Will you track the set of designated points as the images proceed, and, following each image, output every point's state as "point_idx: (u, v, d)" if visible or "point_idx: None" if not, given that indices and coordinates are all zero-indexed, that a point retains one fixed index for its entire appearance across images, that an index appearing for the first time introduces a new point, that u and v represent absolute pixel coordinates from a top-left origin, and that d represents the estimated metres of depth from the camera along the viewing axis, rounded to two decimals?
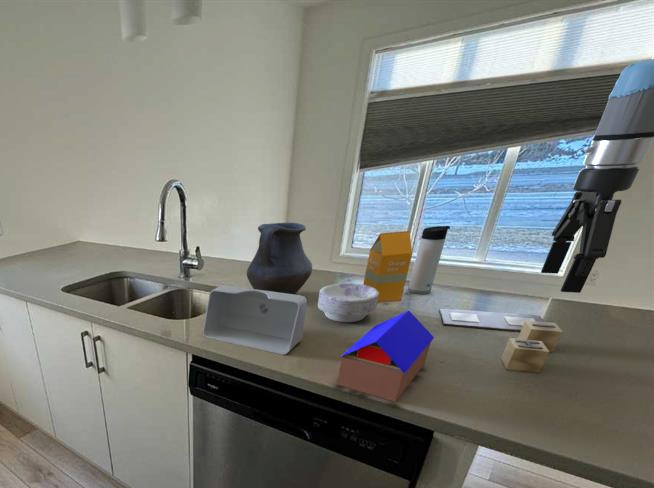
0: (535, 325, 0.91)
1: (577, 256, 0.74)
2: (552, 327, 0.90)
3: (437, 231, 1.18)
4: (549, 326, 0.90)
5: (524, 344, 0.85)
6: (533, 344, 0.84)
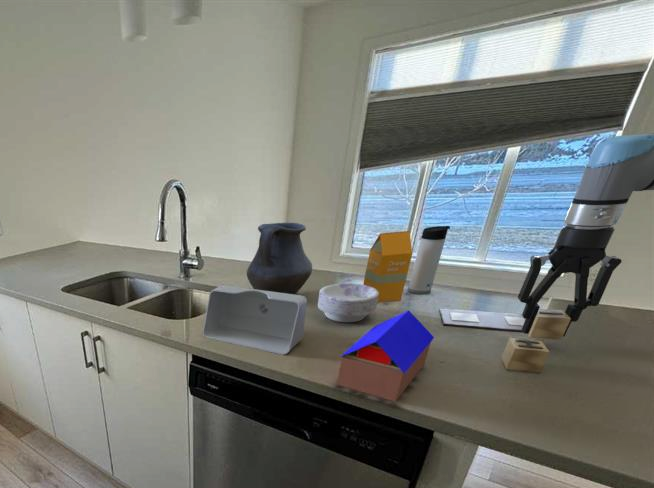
0: (542, 312, 0.90)
1: None
2: (560, 314, 0.88)
3: (437, 231, 1.18)
4: (556, 313, 0.89)
5: (524, 344, 0.85)
6: (533, 344, 0.84)
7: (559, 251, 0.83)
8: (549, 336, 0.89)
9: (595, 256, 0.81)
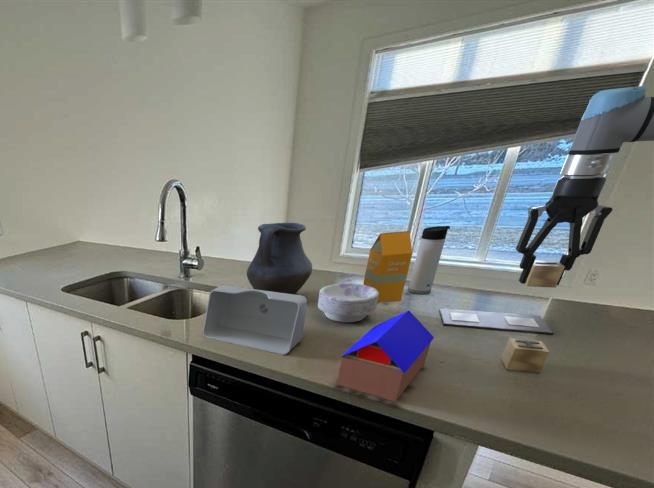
0: (538, 262, 0.96)
1: None
2: (554, 263, 0.94)
3: (437, 231, 1.18)
4: (551, 263, 0.95)
5: (524, 344, 0.85)
6: (533, 344, 0.84)
7: (555, 201, 0.89)
8: (544, 284, 0.95)
9: (588, 205, 0.87)
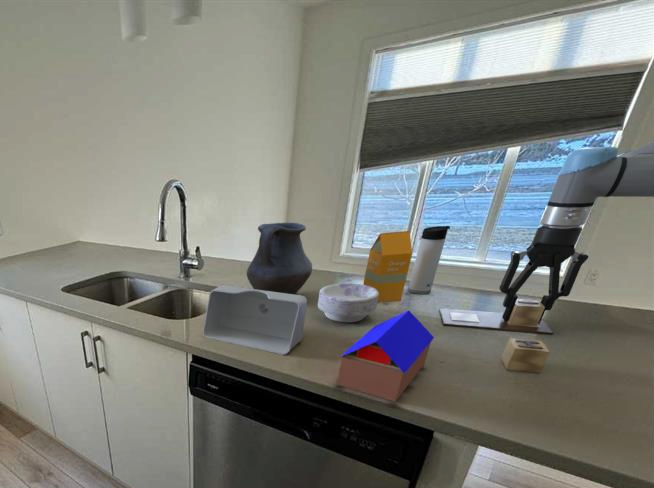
0: (520, 302, 1.01)
1: None
2: (535, 303, 1.00)
3: (437, 231, 1.18)
4: (533, 303, 1.00)
5: (524, 344, 0.85)
6: (533, 344, 0.84)
7: (535, 247, 0.95)
8: (526, 323, 1.01)
9: (566, 252, 0.93)
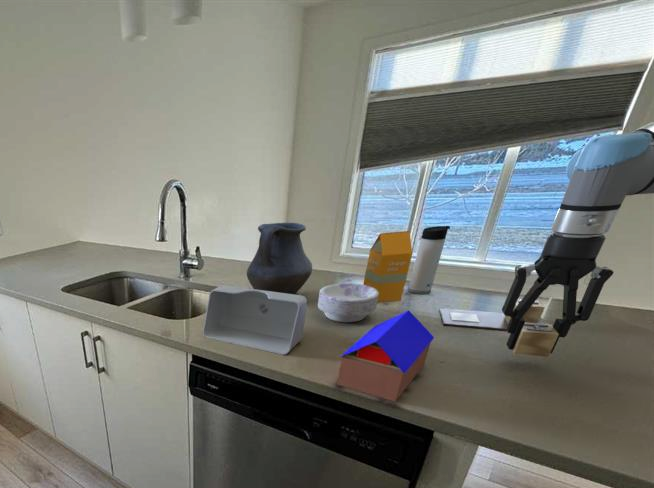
0: None
1: None
2: (535, 303, 1.00)
3: (437, 231, 1.18)
4: (533, 303, 1.00)
5: (532, 327, 0.83)
6: (542, 327, 0.82)
7: (545, 261, 0.76)
8: None
9: (585, 267, 0.74)
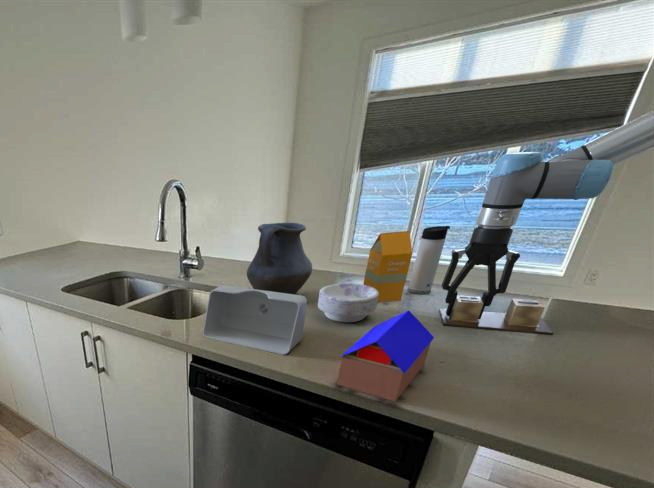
0: (520, 302, 1.01)
1: None
2: (535, 303, 1.00)
3: (437, 231, 1.18)
4: (533, 303, 1.00)
5: (466, 298, 1.07)
6: (473, 298, 1.06)
7: (472, 247, 1.00)
8: (526, 323, 1.01)
9: (500, 251, 0.98)
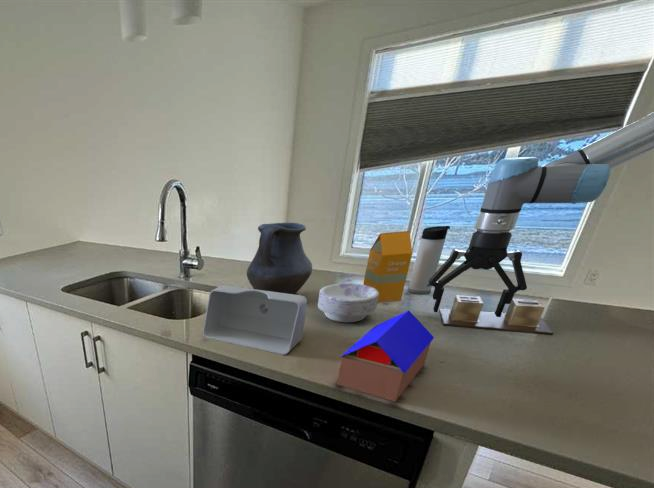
0: (520, 302, 1.01)
1: None
2: (535, 303, 1.00)
3: (437, 231, 1.18)
4: (533, 303, 1.00)
5: (466, 298, 1.07)
6: (473, 298, 1.06)
7: (471, 251, 1.00)
8: (526, 323, 1.01)
9: (499, 255, 0.98)
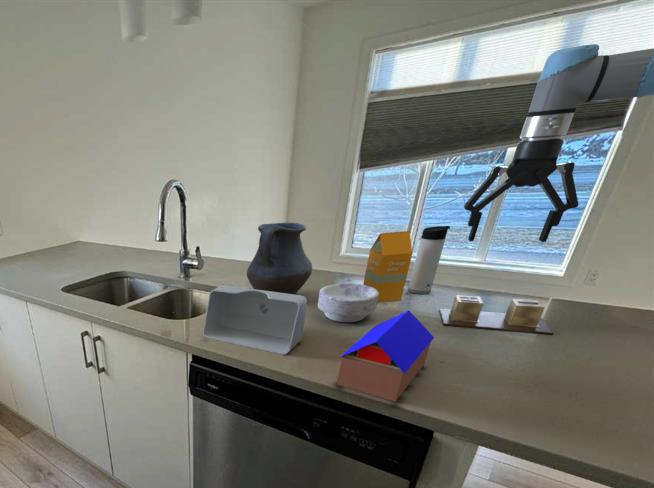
0: (520, 302, 1.01)
1: None
2: (535, 303, 1.00)
3: (437, 231, 1.18)
4: (533, 303, 1.00)
5: (466, 298, 1.07)
6: (473, 298, 1.06)
7: (515, 165, 0.90)
8: (526, 323, 1.01)
9: (547, 168, 0.88)
